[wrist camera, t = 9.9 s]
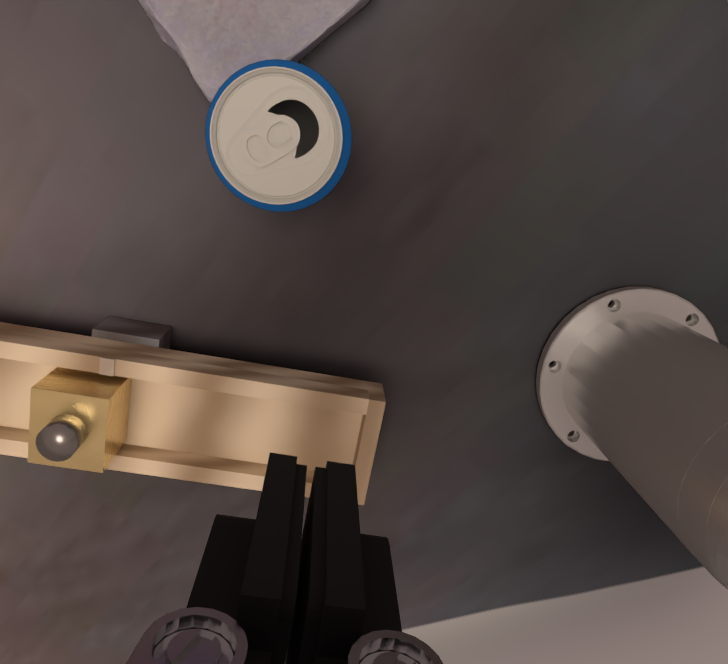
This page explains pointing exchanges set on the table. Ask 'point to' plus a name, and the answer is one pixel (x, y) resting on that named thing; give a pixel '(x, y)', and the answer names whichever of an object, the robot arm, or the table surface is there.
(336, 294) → the table surface
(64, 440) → the rider
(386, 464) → the table surface
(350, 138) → the beverage can
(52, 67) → the table surface
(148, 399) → the beam
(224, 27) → the stone block
